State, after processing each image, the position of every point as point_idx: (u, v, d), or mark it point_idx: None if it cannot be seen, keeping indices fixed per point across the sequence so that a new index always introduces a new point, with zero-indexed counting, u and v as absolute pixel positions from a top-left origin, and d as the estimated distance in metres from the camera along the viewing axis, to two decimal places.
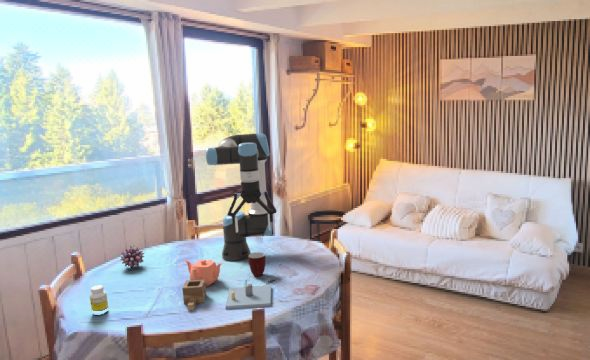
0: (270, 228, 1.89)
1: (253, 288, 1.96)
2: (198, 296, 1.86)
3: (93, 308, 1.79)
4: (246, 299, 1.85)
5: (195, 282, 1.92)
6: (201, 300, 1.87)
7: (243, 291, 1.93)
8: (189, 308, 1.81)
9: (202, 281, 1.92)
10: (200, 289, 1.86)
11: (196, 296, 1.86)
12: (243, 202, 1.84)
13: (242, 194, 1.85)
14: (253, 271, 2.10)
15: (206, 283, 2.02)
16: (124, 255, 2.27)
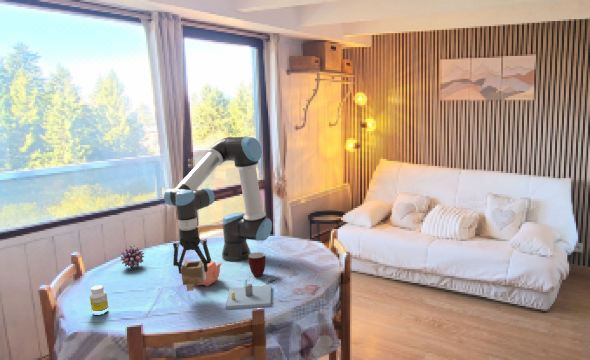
0: (205, 277, 1.90)
1: (253, 288, 1.96)
2: (197, 277, 1.85)
3: (93, 308, 1.79)
4: (246, 299, 1.85)
5: (194, 263, 1.91)
6: (200, 281, 1.86)
7: (243, 291, 1.93)
8: (188, 289, 1.80)
9: (201, 262, 1.90)
10: (199, 270, 1.85)
11: (195, 277, 1.85)
12: (184, 250, 1.85)
13: (181, 242, 1.85)
14: (253, 271, 2.10)
15: (206, 283, 2.02)
16: (124, 255, 2.27)
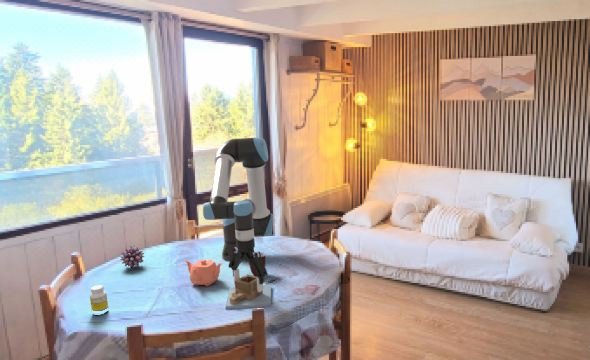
0: (261, 290, 1.85)
1: None
2: (246, 293, 1.84)
3: (93, 308, 1.79)
4: None
5: (252, 278, 1.90)
6: (248, 298, 1.84)
7: None
8: (231, 302, 1.82)
9: None
10: (247, 286, 1.83)
11: (244, 292, 1.85)
12: (238, 258, 1.87)
13: (238, 250, 1.87)
14: (253, 271, 2.10)
15: (206, 283, 2.02)
16: (124, 255, 2.27)
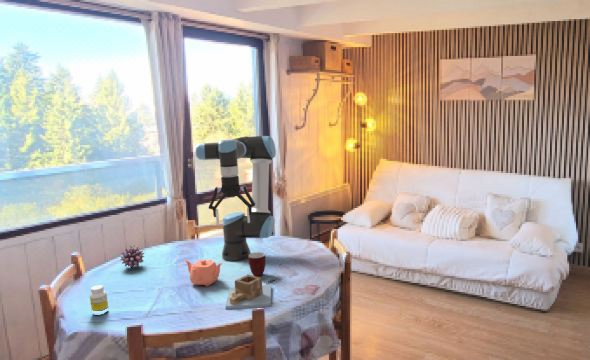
0: (249, 221, 1.99)
1: None
2: (246, 293, 1.84)
3: (93, 308, 1.79)
4: None
5: (252, 278, 1.90)
6: (248, 298, 1.84)
7: None
8: (231, 302, 1.82)
9: (257, 279, 1.88)
10: (247, 286, 1.83)
11: (244, 292, 1.85)
12: (223, 196, 1.95)
13: (222, 188, 1.95)
14: (253, 271, 2.10)
15: (206, 283, 2.02)
16: (124, 255, 2.27)
